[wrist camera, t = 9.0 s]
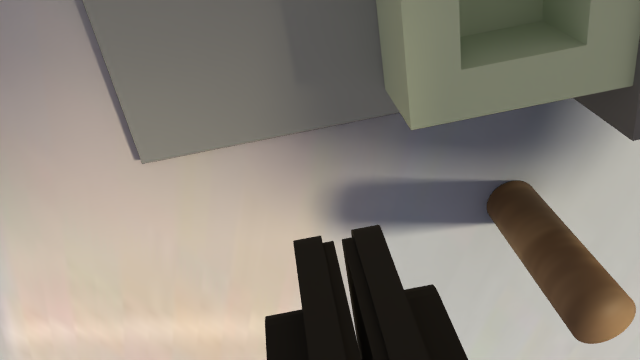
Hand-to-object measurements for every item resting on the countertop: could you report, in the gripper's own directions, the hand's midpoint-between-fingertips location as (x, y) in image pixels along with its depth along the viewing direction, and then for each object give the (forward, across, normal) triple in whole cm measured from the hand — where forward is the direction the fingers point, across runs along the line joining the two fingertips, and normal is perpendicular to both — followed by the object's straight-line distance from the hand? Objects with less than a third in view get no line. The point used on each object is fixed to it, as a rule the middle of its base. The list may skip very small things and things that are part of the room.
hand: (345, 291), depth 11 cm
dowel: (+19, -12, +13) cm, 26 cm away
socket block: (+19, -10, -1) cm, 21 cm away
